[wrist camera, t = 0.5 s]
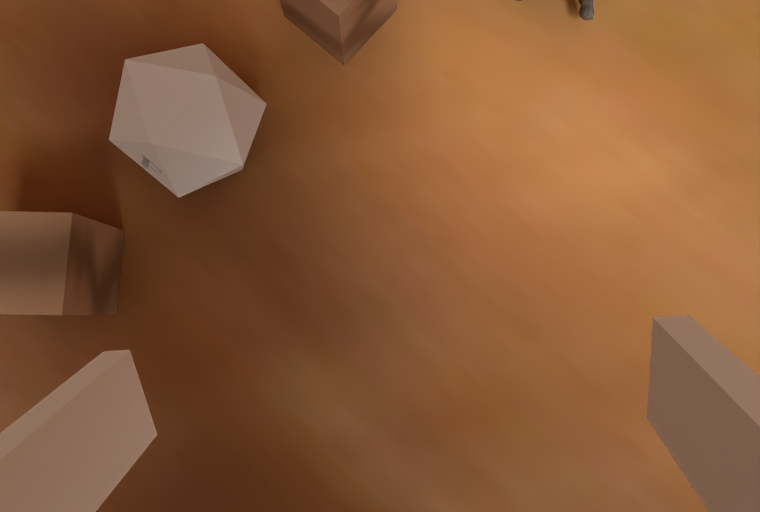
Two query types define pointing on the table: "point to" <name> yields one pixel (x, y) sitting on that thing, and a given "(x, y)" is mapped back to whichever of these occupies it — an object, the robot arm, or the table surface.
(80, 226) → the walnut block
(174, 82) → the die
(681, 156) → the table surface
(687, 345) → the robot arm
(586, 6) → the dog figurine
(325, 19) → the walnut block
